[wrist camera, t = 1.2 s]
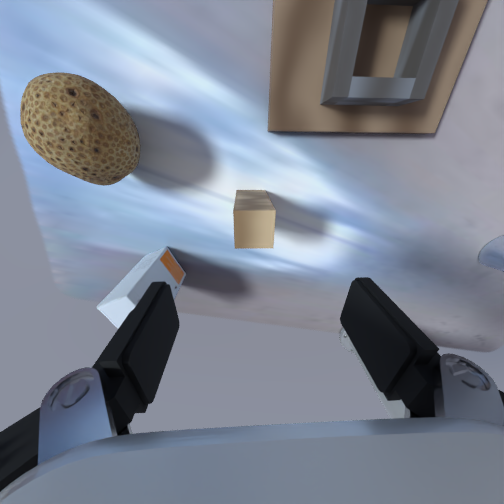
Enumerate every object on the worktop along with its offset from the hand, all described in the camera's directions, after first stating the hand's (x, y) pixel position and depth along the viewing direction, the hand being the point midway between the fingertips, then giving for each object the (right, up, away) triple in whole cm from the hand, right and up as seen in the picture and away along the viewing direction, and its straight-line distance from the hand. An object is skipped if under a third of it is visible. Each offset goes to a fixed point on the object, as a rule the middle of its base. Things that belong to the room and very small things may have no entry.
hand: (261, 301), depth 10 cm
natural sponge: (-17, +16, +13) cm, 27 cm away
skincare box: (-15, +1, +22) cm, 27 cm away
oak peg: (-1, +9, +18) cm, 20 cm away
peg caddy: (+11, +24, +10) cm, 28 cm away
